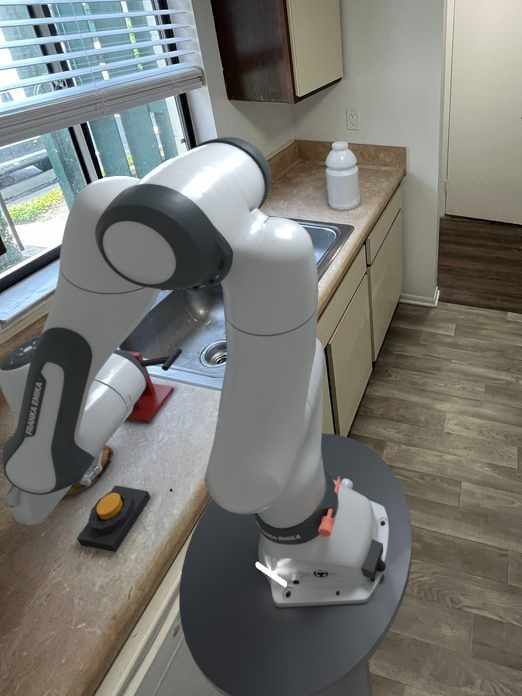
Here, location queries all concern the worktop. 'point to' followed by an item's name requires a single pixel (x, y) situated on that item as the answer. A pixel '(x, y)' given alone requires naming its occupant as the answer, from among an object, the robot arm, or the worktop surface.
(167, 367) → the lever
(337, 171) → the bottle
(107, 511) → the button
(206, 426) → the worktop surface
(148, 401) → the bracket
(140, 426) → the worktop surface
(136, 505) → the button box
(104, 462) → the burger
